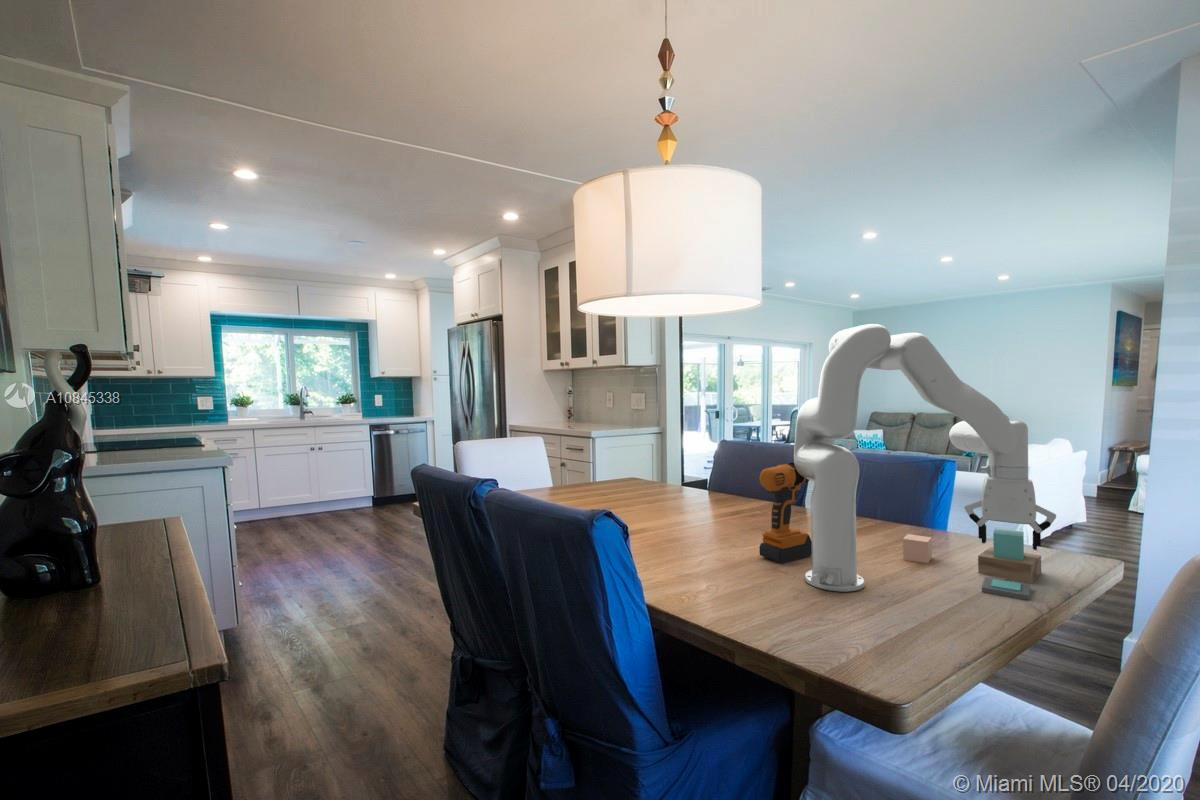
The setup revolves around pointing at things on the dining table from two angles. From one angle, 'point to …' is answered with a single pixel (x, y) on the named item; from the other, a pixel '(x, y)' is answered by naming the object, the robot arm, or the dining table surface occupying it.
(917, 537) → the terracotta block
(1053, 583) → the dining table surface
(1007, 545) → the teal block
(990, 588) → the tile
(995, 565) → the walnut block
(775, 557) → the power drill
